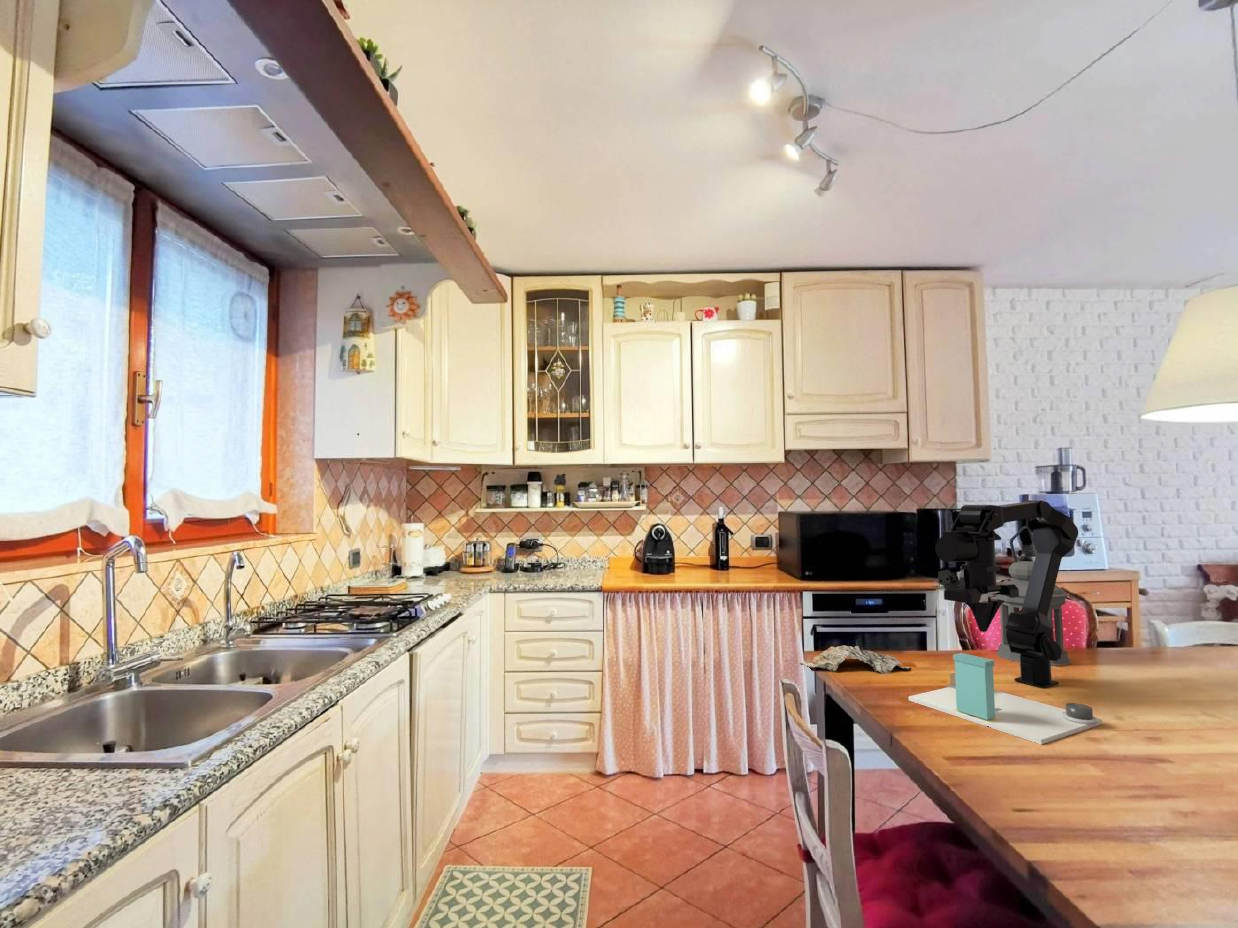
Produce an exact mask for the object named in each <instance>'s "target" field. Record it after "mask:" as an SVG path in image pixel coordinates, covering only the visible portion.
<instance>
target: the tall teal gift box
mask: <svg viewBox="0 0 1238 928" xmlns="http://www.w3.org/2000/svg"><path fill="white" fill-rule="evenodd" d="M952 660H953V661H954V673H955V682H956V706H957V710H958V711H961V712H964V713H967V714H970V715H973V716H976V717H980V718H983V719H986V720H989V719H992V718H995V700H994V690H995V685H994V683H995V681H994V666H995V660H994V659H989V658H985V657H982V656H981V657H980V656H976V655H972V654H968V653H964V652H959V653H954V654H952Z"/></svg>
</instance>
